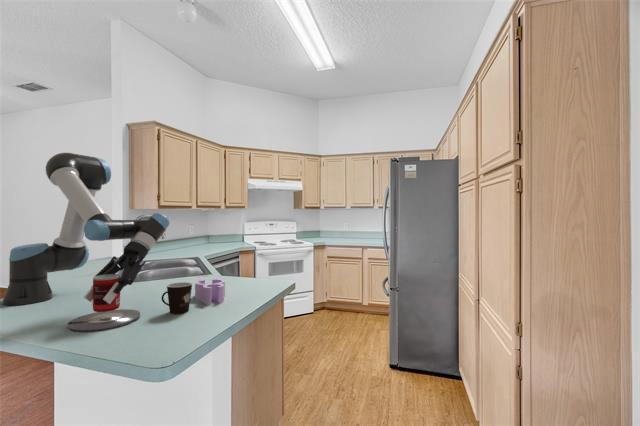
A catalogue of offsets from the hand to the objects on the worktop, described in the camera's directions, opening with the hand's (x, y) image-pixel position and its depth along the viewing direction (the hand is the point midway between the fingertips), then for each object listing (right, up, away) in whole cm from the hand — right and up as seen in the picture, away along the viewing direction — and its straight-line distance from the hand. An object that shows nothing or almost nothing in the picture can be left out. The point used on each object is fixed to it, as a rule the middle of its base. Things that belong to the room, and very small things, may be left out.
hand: (96, 300), depth 101 cm
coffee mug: (+20, -8, +13) cm, 25 cm away
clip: (+26, -9, +33) cm, 43 cm away
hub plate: (+1, -8, +3) cm, 8 cm away
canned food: (+1, -4, +3) cm, 5 cm away
